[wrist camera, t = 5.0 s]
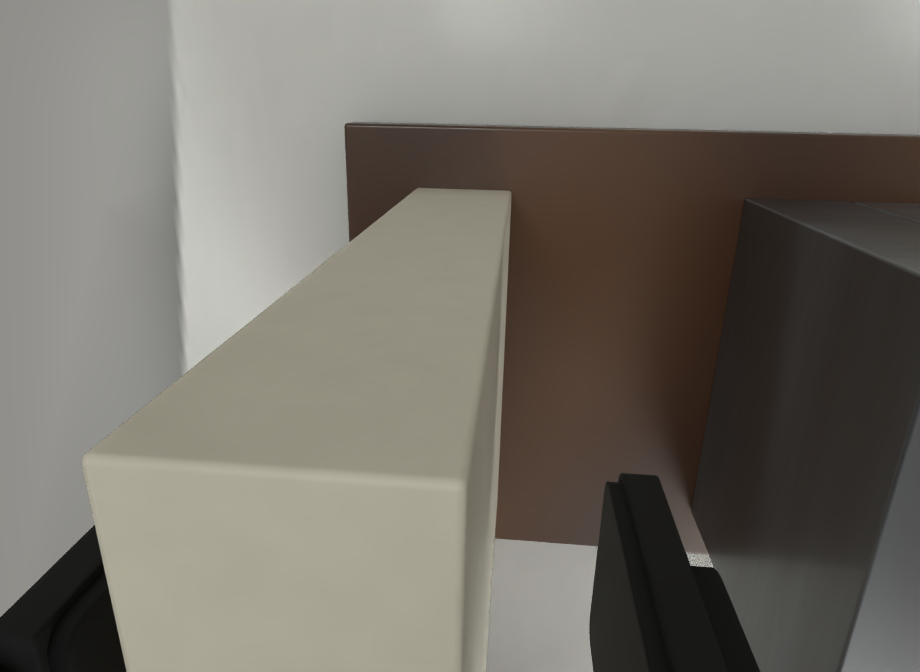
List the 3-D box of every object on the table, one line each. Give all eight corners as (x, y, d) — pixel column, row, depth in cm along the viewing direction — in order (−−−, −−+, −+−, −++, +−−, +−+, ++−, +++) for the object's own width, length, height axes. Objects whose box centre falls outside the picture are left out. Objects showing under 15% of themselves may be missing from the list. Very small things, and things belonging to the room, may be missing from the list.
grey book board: (368, 509, 21) (261, 788, 12) (353, 121, 17) (177, 142, 8) (988, 556, 19) (1349, 910, 11) (1144, 140, 15) (1936, 188, 7)
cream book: (417, 492, 19) (231, 1169, 7) (416, 187, 16) (73, 455, 4) (497, 497, 19) (447, 1205, 7) (511, 190, 16) (466, 483, 4)
